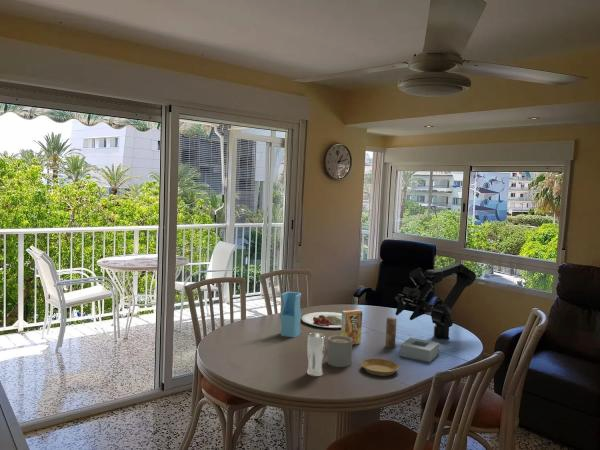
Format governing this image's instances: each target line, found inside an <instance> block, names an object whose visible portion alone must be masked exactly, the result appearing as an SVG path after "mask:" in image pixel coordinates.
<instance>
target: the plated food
mask: <svg viewBox="0 0 600 450" xmlns="http://www.w3.org/2000/svg"><path fill="white" fill-rule="evenodd" d="M301 320H302V322H304V323H306V324H308V325H310V326H314V327H318V328H324V329H341V322H342V312H333V311H332V312H330V311H318V312H315V311H314V312H310V313H305V314H304V315H302V316H301Z"/></svg>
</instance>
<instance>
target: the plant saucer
mask: <svg viewBox="0 0 600 450" xmlns="http://www.w3.org/2000/svg"><path fill="white" fill-rule="evenodd" d="M360 365H361V366H362V368H363V369H364V370H365V371H366V372H367V373H369V374H371V375H374V376H378V377H386V376H387V377H389V376H392V375H393V374H395V373H396V372H397V371H398V369H399V368H400V366H399V365H398V363H396V362H394V361H392V360H389V359H383V358H367V359H364V360H362V361H361V362H360Z"/></svg>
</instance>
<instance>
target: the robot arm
mask: <svg viewBox="0 0 600 450" xmlns="http://www.w3.org/2000/svg"><path fill="white" fill-rule="evenodd" d="M452 275H456V277H455V278H456V282H455V284H454V285H453V287H452V288H451V289H450V290H449V293H447V295H446V297H445V299H444V300H443V301H442V303H441V304H437V303H436V304H435V305H434V307H433V308H432V307H431V305H430V304H429V303H428V302H427V301H426V300H427V299H428V298H427V296H428V294H429V293H430V292H435V285H433V284H437V285H438V284H439V283H441V282H442V281H444V279H445V278H447V277H450V276H452ZM408 276H409V278H410V279H411V281H412V282H413V283H414V285H415V286H416V287H414V288H411V287H408V286H404V288H403V291H402V294H401V293H398V294H396V296H395V300H396V301H397V306H396V307H397V308H396V310H395V316H398V315H400V314H401V313H402V312H403V311H404V310H406V308H407V306H409V305H411V306H413V307H414V306H415V308H414V310H413V312H412V314H411V315H410V317H409V320H410V321H412V320H415V319H417V318H420V317H421V316H424V315H427V314H430V313H431V314H430V316H431V320H432V321H431V322H432V324H434V326H433V336H434V337H435V339H445V340H446V339H447V340H448V339H449V340H450V328H451V327H453V325H454V321H453V320H452V318H451V316H452V313H451V312H452V308H453V307H454V306H455V304H456V303H457V301H458V300H459V298H460V296H461V295H462V293H463V292H464V291H465V289H466V288H467V287H469V286H471V285H473V283H474V282H475V281H476V278H477V274H476V272H475V271H473V270H472V269H469V268H468V267H467V266H466V265H464V264H463V263H459V262H453V263H452V264H449V265H447V266H444V267H442V268H439V269H427V270H426V271H424V270H423V269H422V268H421V267H417V268H415V269H413V270H411V271H410V272H409V274H408ZM404 294H405V295H404Z"/></svg>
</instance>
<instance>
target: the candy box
mask: <svg viewBox="0 0 600 450" xmlns="http://www.w3.org/2000/svg"><path fill="white" fill-rule="evenodd" d="M341 314H342V322H341V328H340V335H342V336H348V337H350V338H352V340H353V342H352V345H359V344H360V345H361V344H362V328H363V327H362V325H363V311H362V310H360V309H349V310H342V311H341Z"/></svg>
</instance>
